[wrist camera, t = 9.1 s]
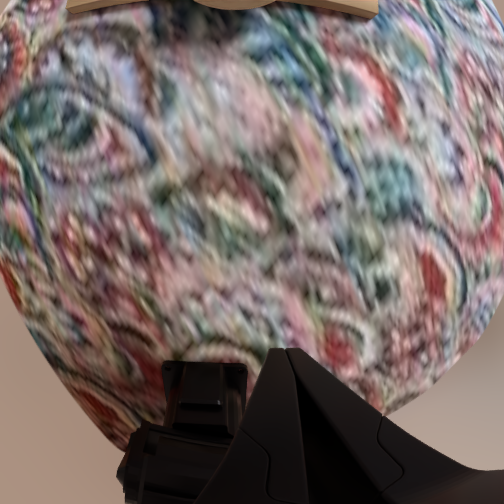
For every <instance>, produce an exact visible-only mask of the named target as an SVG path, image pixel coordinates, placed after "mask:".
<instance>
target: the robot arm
mask: <svg viewBox="0 0 504 504" xmlns="http://www.w3.org/2000/svg"><path fill="white" fill-rule="evenodd" d="M166 366H169V367H171V368H167V367H166ZM161 369H162V376H163V382H164V389H165V395H166V401H167V407H166V413H165V418H164V423H163V426H160V425H156V424H152V423H151V422H149V421H145V420H142V423H141V426H140V428H137V430H136V432H133V433H131V436H130V440H129V444H128V447H127V450H126V453H125V455H124V457H123V459H122V461H121V463H120V465H119V467H118V470H117V475H116V477H117V479H118V480H119V482H120V483H121V484H122V486H123V493H125V504H504V470H490V471H484V470H476V469H472V468H469V467H466V466H464V465H462V464H460V463H458V462H456V461H455V460H453V459H451V458H449V457H447V456H446V455H444V454H442V453H440V452H438V451H437V450H435V449H433V448H431V447H429V446H428V445H426V444H424V443H423V442H421V441H420V440H418V439H416V438H415V437H413V436H412V435H410V434H409V433H407V432H406V431H404V430H403V429H402V428H400V427H399V426H397V425H396V424H394V423H393V422H392V421H390V420H389V419H388V418H387V417H386V416H382V414H381V413H380V412H379V411H378V410H376V409H375V408H374V407H372V406H371V405H370V404H369V403H367V402H366V401H365V400H364V399H362V398H361V397H360V396H359V395H357V394H356V393H355V392H354V391H352V390H351V389H350V388H349V387H347V386H346V385H345V384H344V383H342V382H341V381H340V380H339V379H337V378H336V377H335V376H334V375H332V374H331V373H330V372H329V371H328V370H326V369H325V368H324V367H323V366H321V365H320V364H319V363H318V362H317V361H315V360H314V359H313V358H312V357H311V356H309V355H308V354H307V353H306V352H305V351H303V350H302V349H301V348H286V349H283V348H270V349H269V350H268V353H267V355H266V358H265V361H264V363H263V366H262V368H261V371H260V374H259V376H258V379H257V381H256V384H255V387H254V389H253V392H252V394H251V397H250V399H249V402H248V404H247V407H246V409H245V404H246V389H247V375H248V369H247V366H246V365H245V364H242V363H206V362H185V361H169V360H167V361H164V362H163V363H162V368H161ZM239 369H243V370H242V371H239Z"/></svg>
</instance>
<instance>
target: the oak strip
mask: <svg viewBox="0 0 504 504" xmlns="http://www.w3.org/2000/svg"><path fill="white" fill-rule="evenodd" d="M139 1H147V0H68V1H67V5H66V9H67V10H68V11H70V12H71V13H72V14H75V13H79V12H84V11H88V10H92V9H97V8H102V7H107V6H113V5H119V4H125V3H132V2H139ZM276 1H284V2H291V3H298V4H305V5H310V6H316V7H321V8H327V9H331V10H336V11H341V12H345V13H349V14H353V15H357V16H361V17H365V18H368V19H372V18H373V17H375V16H376V15H377V14H378V0H276Z"/></svg>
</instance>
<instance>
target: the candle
mask: <svg viewBox="0 0 504 504" xmlns="http://www.w3.org/2000/svg"><path fill="white" fill-rule="evenodd" d="M194 1H196V2H198V3H200V4H202V5H205V6H208V7H213V8H218V9H225V10H245V9H252V8H257V7H261V6H264V5H267V4H270V3H272V2H274V1H276V0H194Z"/></svg>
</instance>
